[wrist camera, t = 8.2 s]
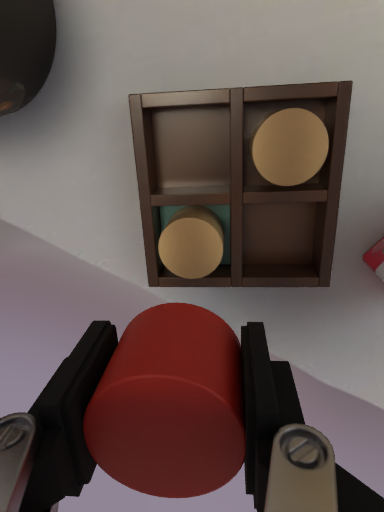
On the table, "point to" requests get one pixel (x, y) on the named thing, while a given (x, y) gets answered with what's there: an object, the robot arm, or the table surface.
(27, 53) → the jar
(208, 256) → the maple token
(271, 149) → the disc
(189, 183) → the token board
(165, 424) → the cylinder
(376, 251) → the ink box
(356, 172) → the table surface
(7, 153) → the table surface
